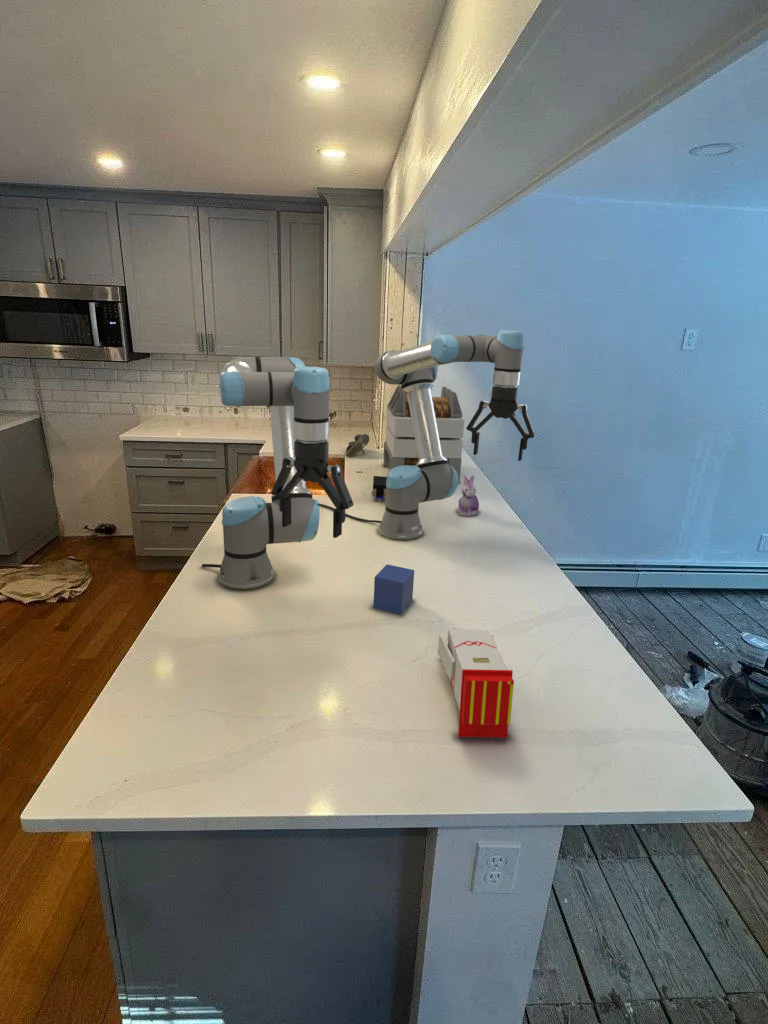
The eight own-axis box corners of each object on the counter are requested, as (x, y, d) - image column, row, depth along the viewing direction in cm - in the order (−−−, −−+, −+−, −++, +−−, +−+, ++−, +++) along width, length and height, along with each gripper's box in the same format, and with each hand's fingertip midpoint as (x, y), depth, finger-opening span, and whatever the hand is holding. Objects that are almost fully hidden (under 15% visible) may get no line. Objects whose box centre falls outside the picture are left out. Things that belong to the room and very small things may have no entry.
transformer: (382, 463, 289) (386, 382, 275) (445, 464, 293) (451, 384, 279) (390, 482, 257) (394, 392, 243) (460, 483, 261) (468, 394, 247)
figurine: (465, 518, 217) (469, 480, 212) (450, 509, 226) (454, 473, 221) (485, 515, 222) (489, 478, 217) (470, 507, 230) (473, 471, 225)
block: (401, 615, 147) (403, 583, 144) (373, 608, 150) (374, 576, 147) (412, 600, 155) (414, 569, 152) (385, 594, 157) (386, 564, 154)
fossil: (345, 440, 316) (366, 424, 311) (356, 453, 319) (377, 438, 314) (339, 453, 297) (361, 437, 292) (350, 467, 300) (373, 452, 295)
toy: (488, 613, 130) (523, 677, 101) (484, 667, 133) (517, 744, 104) (435, 612, 130) (455, 676, 101) (432, 666, 133) (451, 743, 103)
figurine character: (387, 506, 231) (387, 491, 244) (388, 489, 228) (388, 474, 241) (371, 505, 231) (371, 490, 244) (372, 488, 227) (372, 474, 241)
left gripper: (370, 444, 123) (367, 535, 130) (273, 430, 132) (276, 516, 139) (354, 450, 116) (351, 546, 123) (254, 436, 126) (257, 525, 133)
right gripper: (550, 388, 164) (540, 459, 172) (466, 381, 173) (460, 449, 180) (547, 391, 158) (537, 465, 165) (460, 383, 166) (454, 454, 173)
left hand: (311, 530), depth 131 cm, fingers open, 13 cm apart
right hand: (497, 456), depth 172 cm, fingers open, 13 cm apart
